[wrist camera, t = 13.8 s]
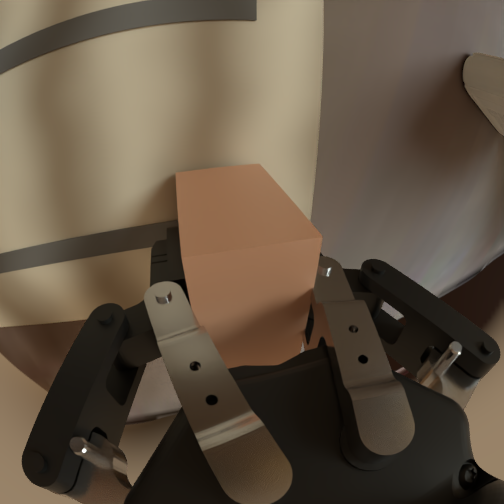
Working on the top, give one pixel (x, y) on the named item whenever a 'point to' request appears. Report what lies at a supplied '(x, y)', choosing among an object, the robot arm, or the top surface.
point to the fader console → (138, 132)
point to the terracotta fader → (246, 262)
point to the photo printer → (486, 86)
